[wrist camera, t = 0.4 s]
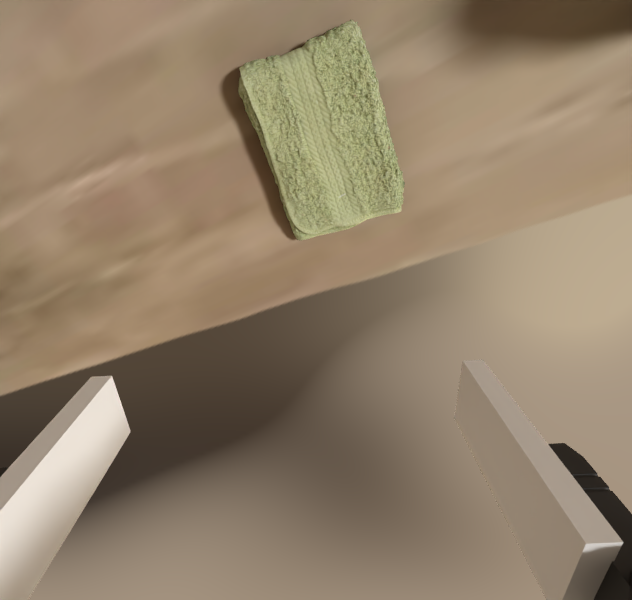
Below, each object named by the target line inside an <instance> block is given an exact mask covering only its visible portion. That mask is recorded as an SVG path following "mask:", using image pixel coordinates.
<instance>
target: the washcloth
mask: <svg viewBox="0 0 632 600" xmlns="http://www.w3.org/2000/svg"><path fill="white" fill-rule="evenodd" d="M371 63H372V61H371V59H370V55H369V52H368V51H367V49H366V45H365V40H363V38H362V33H361V30H360V27H358V26H357V22H355V23H354V21H353V20H350V21H348V22H346V23H344V24H341V25H340V26H339V27H335V28H333V29H332V30H328V31H327V33H326V34H324V35H323V36H319V37H314V38H311V39H309V40H307V42H306V43H305V45H304V46H303V47H302V48H298V49H295V50H293V51H291V52H289V53H287V54H284V55H282V56H278V55H275V56H270V57H267V58H266V59H256V60H254V61H251V62H248V63H245V64H244V65H243V66H241V67H240V68H239V70H240V74H241V77H240V78H239V89H238V93H239V96H240V98H241V99H243V103H244V107H245V111H246V112H247V114H248V116H249V119H250V121H251V122H252V126H253V127H254V129H256V132H257V134H258V137H259V139H260V141H261V146H262V147H263V149H264V150H263V151H264V152H265V156H266V157H267V160H268V164H269V166H270V168H271V170H272V173H273V175H274V177H275V183H276V184H277V185H278V187H279V193H280V198H281V201H282V203H283V209H284V211H285V213H286V217H287V219H288V220H289V222H290V227H291V228H292V231H293V234H294V235H295V237H296V239H297V240H305V239H309V238H313V237H315V236H319V235H323V234H329V233H334V232H338V231H342V230H347V229H349V228H351V227H354V226H356V225H358V224H360V223H362V222H363V221H365V220H368V219H371V218H374V217H378V216H382V215H387V214H394V213H398V212H400V211H401V204H403V196H402V193H403V192H404V190H403V188H404V184H405V183H404V181H403V177H402V173H403V172H402V171H401V170H400V168H399V167H398V163H397V158H398V157H397V156H396V154H395V150H394V147H393V145H394V144H393V143H392V138H390V131H389V128H388V125H387V121H386V119H387V118H386V116H385V108H384V105H383V102H382V98H380V93H379V83H378V80H377V78H376V77H375V75H376V72H375V69H374V68H373V66H372V64H371Z"/></svg>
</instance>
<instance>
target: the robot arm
mask: <svg viewBox="0 0 632 600" xmlns="http://www.w3.org/2000/svg"><path fill="white" fill-rule="evenodd" d="M454 419H455V421H456V423H457V425H458V427H459V429H460V430H461V432H462V435H463V436H464V439H465V440H466V442H467V444H468V446H469V448H470V450H471V452H472V454H473V456H474V458H475V460H476V462H477V464H478V466H479V468H480V470H481V472H482V474H483V476H484V478H485V480H486V482H487V484H488V486H489V488H490V490H491V492H492V494H493V496H494V498H495V499H496V502H497V503H498V506H499V507H500V509H501V511H502V513H503V515H504V517H505V519H506V521H507V523H508V525H509V527H510V529H511V531H512V533H513V535H514V537H515V539H516V541H517V543H518V545H519V547H520V549H521V551H522V553H523V555H524V557H525V559H526V561H527V563H528V565H529V567H530V569H531V570H532V573H533V574H534V576H535V578H536V580H537V582H538V584H539V586H540V588H541V590H542V592H543V594H544V596H545V598H546V600H632V514H631V513H630V512H629V511H628V509H627V508H626V507H625V506H624V504H623V503H622V502H621V501H620V500H619V499H618V497H617V496H616V495H615V494H614V493H613V491H610V490H609V487H608V486H607V484H606V483H605V482H604V481H603V480H602V478H601V477H598V475H597V473H596V472H595V470H594V469H593V468H592V467H591V466H590V464H589V463H588V462H587V461H586V460H585V458H583V457H582V456H581V455H580V454H578V453H577V452H576V451H574V450H573V449H572V448H570V447H569V446H567V445H566V444H565V443H558V444H548V443H547V442H546V441H545V440H544V438H543V437H542V436H541V434H540V433H539V432H538V430H537V429H536V428H535V427H534V425H533V424H532V423H531V421H530V420H529V419H528V417H527V416H526V415H525V414H524V412H523V411H522V410H521V408H520V407H519V406H518V404H517V403H516V402H515V401H514V399H513V398H512V397H511V395H510V394H509V393H508V391H507V390H506V389H505V388H504V386H503V385H502V384H501V382H500V381H499V380H498V379H497V377H496V376H495V375H494V373H493V372H492V371H491V369H490V368H489V367H488V365H487V364H486V363H485V362H484V360H469V361H463V362H462V369H461V375H460V382H459V389H458V395H457V402H456V409H455V415H454ZM130 432H131V431H130V429H129V425H128V422H127V420H126V416H125V413H124V410H123V408H122V405H121V402H120V399H119V396H118V393H117V390H116V387H115V384H114V381H113V378H112V376H98V377H91V378H90V379H89V380H88V381H87V382H86V384H84V386H83V387H82V388H81V389H80V390H79V391H78V392H77V393H76V394H75V396H74V397H73V398H72V399H71V400H70V401H69V402H68V403H67V404H66V405H65V407H64V408H63V409H62V410H61V411H60V412H59V413H58V414H57V415H56V417H55V418H54V419H53V420H52V421H51V422H50V423H49V424H48V425H47V426H46V427H45V429H44V430H43V431H42V432H41V433H40V434H39V435H38V436H37V437H36V438H35V440H34V441H33V442H32V443H31V444H30V445H29V446H28V447H27V448H26V450H25V451H24V452H23V453H22V454H21V455H20V456H19V457H18V458H17V459H16V460H15V462H14V463H13V464H12V465H11V466H10V467H9V468H0V600H28V599H29V598H30V596H31V595H32V593H33V591H34V590H35V588H36V587H37V585H38V583H39V581H40V580H41V578H42V576H43V575H44V573H45V572H46V570H47V568H48V567H49V565H50V563H51V562H52V560H53V559H54V557H55V555H56V554H57V552H58V550H59V549H60V547H61V545H62V544H63V542H64V540H65V539H66V537H67V535H68V534H69V532H70V531H71V529H72V527H73V525H74V524H75V522H76V520H77V519H78V517H79V516H80V514H81V512H82V511H83V509H84V508H85V506H86V504H87V503H88V500H89V499H90V498H91V496H92V494H93V493H94V491H95V489H96V488H97V486H98V484H99V483H100V481H101V480H102V478H103V476H104V475H105V473H106V471H107V470H108V468H109V466H110V465H111V463H112V462H113V460H114V458H115V456H116V455H117V453H118V452H119V450H120V448H121V447H122V445H123V443H124V442H125V440H126V438H127V437H128V435H129V434H130Z"/></svg>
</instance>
